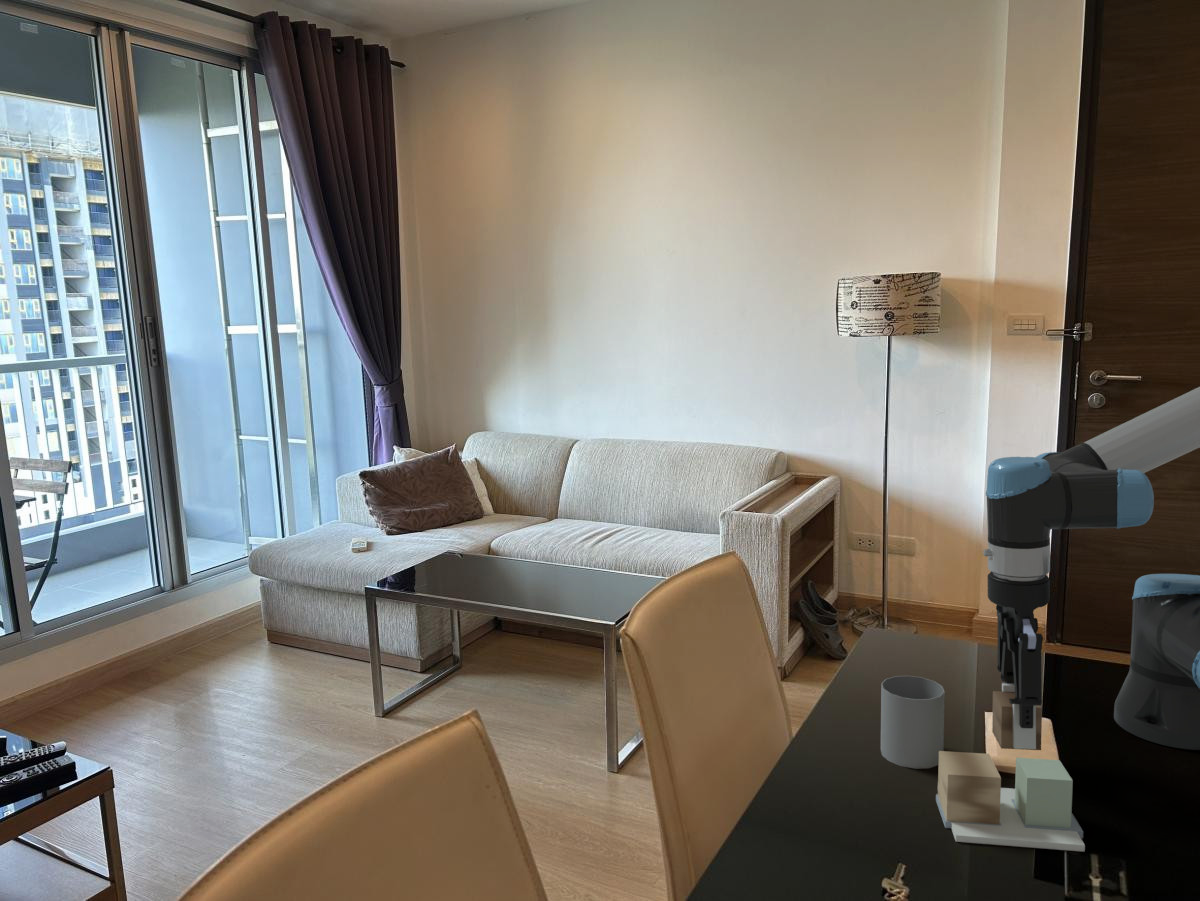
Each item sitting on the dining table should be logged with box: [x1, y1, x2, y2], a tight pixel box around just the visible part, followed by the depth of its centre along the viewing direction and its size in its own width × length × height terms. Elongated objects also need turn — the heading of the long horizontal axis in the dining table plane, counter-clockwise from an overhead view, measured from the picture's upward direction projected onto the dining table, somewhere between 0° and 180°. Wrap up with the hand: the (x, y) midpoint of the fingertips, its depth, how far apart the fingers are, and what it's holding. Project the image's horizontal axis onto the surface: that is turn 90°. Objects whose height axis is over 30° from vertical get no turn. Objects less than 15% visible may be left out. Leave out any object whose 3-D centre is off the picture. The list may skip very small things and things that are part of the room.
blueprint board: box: [935, 787, 1086, 853], centre depth 108 cm, size 15×12×1 cm
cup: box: [880, 675, 946, 770], centre depth 125 cm, size 8×8×10 cm
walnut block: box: [991, 690, 1043, 751], centre depth 120 cm, size 5×5×6 cm
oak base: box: [937, 750, 1002, 825], centre depth 109 cm, size 6×6×6 cm
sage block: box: [1014, 757, 1074, 828], centre depth 107 cm, size 5×5×6 cm
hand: (1018, 737), depth 121 cm, fingers closed on walnut block, 5 cm apart
